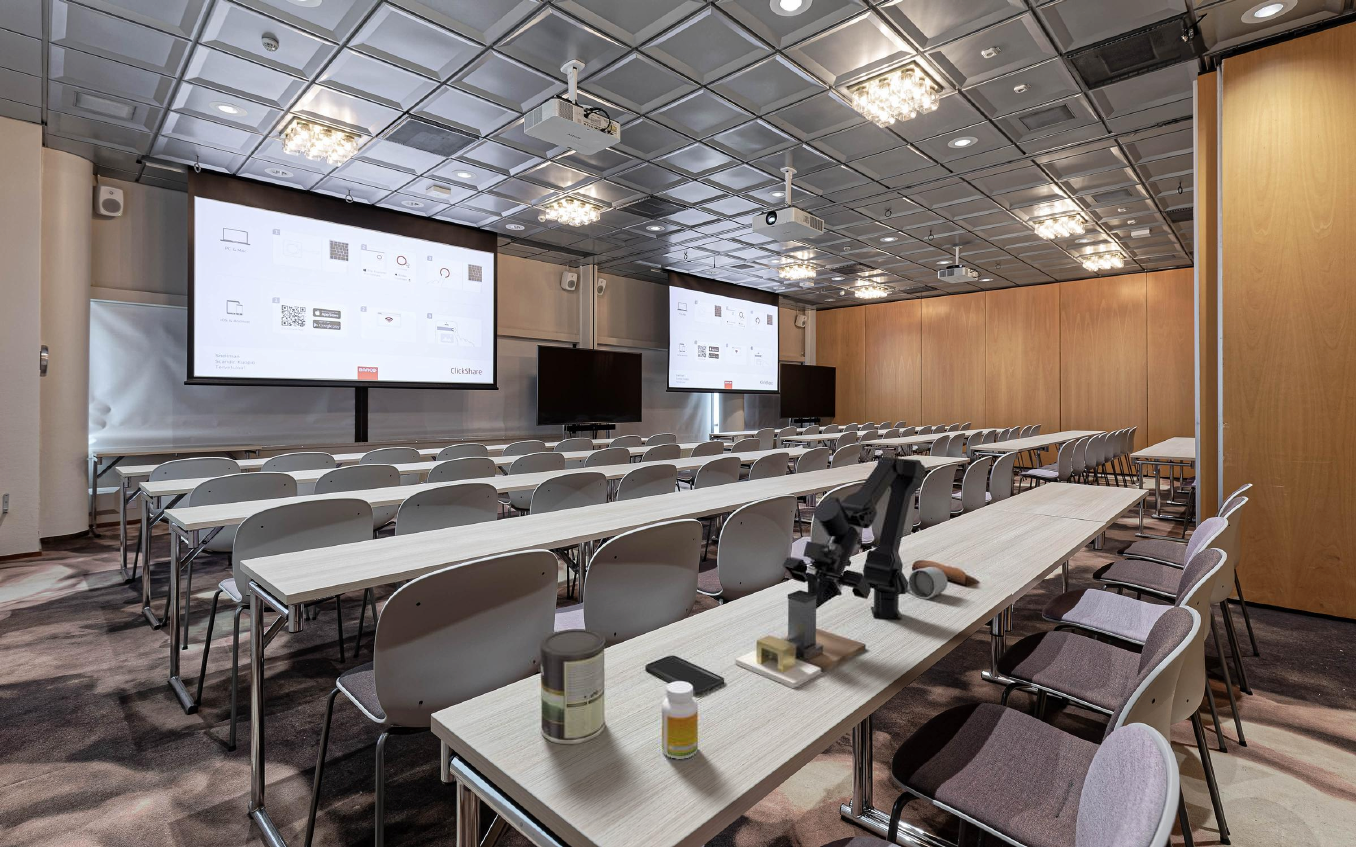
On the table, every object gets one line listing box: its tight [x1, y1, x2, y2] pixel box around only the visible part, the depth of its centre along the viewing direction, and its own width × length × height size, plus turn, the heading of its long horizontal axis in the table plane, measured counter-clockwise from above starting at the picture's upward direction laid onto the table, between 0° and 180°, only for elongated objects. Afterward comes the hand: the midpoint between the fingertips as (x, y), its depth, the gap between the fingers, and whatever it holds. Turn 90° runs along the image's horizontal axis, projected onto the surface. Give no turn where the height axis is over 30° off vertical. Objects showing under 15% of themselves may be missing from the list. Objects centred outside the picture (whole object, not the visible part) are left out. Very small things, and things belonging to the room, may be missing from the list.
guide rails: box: [784, 638, 823, 661], centre depth 125 cm, size 5×7×2 cm
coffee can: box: [539, 628, 606, 745], centre depth 99 cm, size 10×10×14 cm
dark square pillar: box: [772, 589, 817, 662], centre depth 123 cm, size 10×4×12 cm, turn 134°
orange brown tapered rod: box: [911, 559, 981, 588], centre depth 181 cm, size 18×7×7 cm
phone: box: [644, 654, 725, 697], centre depth 117 cm, size 8×1×15 cm
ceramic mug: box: [907, 567, 948, 600], centre depth 165 cm, size 11×8×8 cm
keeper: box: [755, 634, 796, 673], centre depth 119 cm, size 4×6×4 cm, turn 43°
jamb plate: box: [734, 649, 822, 689], centre depth 120 cm, size 9×14×1 cm, turn 44°
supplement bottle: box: [661, 681, 699, 760], centre depth 92 cm, size 5×5×10 cm
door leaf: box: [781, 627, 867, 673], centre depth 129 cm, size 16×14×1 cm
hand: (808, 611), depth 127 cm, fingers closed, pressing on dark square pillar
